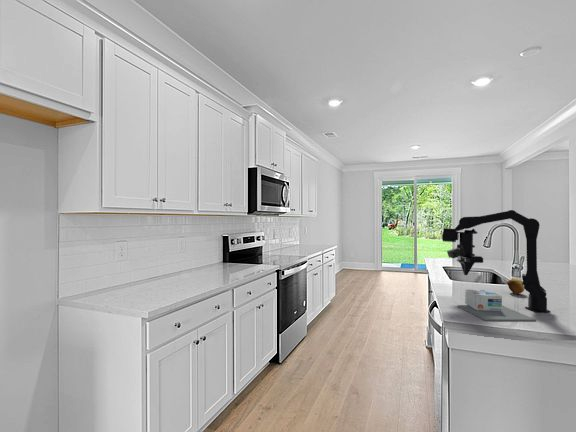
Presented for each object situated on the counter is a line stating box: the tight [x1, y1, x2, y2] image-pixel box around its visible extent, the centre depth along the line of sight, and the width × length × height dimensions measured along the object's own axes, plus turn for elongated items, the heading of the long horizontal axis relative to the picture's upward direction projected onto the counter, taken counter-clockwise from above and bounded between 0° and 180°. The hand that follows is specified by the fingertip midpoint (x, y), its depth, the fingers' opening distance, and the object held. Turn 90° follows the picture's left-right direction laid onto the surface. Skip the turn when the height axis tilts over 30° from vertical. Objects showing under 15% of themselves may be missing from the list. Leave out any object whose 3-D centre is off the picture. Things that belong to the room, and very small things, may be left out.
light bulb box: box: [464, 289, 503, 311], centre depth 144 cm, size 11×7×11 cm
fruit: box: [506, 277, 525, 295], centre depth 173 cm, size 8×8×8 cm
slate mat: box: [457, 304, 537, 322], centre depth 138 cm, size 20×20×1 cm
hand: (465, 275), depth 159 cm, fingers closed
